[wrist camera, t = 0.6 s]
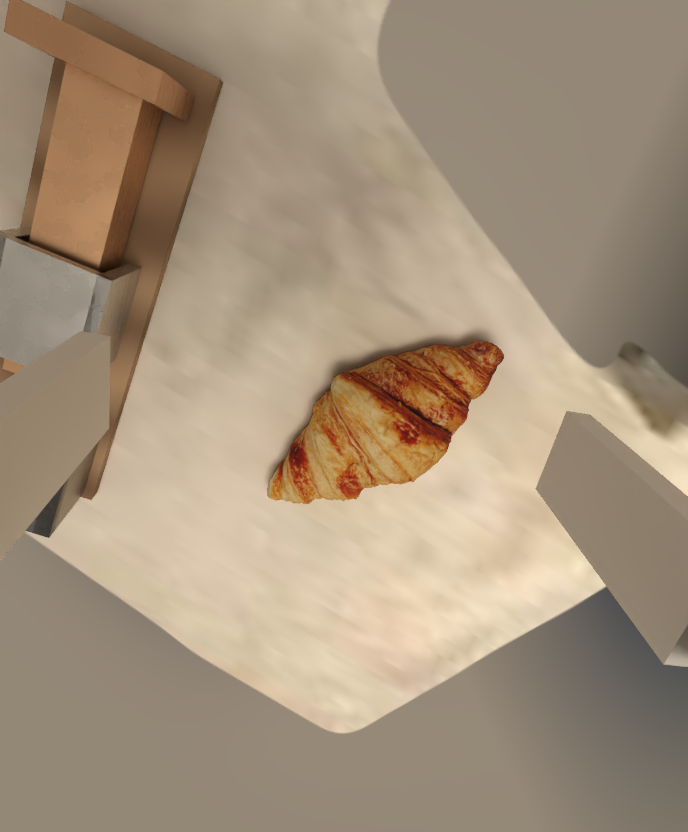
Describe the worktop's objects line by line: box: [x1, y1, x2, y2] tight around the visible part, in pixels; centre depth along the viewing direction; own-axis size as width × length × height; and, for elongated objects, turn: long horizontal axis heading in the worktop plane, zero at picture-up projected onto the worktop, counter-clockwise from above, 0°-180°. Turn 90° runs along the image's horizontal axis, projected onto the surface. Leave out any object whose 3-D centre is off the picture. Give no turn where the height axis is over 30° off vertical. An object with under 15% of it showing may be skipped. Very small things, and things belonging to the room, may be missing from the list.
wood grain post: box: [2, 0, 195, 373], centre depth 31 cm, size 20×7×7 cm, turn 156°
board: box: [0, 1, 223, 500], centre depth 36 cm, size 32×9×1 cm, turn 156°
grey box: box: [26, 441, 99, 538], centre depth 37 cm, size 6×8×6 cm
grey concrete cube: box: [0, 227, 142, 366], centre depth 33 cm, size 7×7×6 cm
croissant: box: [267, 341, 504, 504], centre depth 39 cm, size 21×10×8 cm, turn 127°
